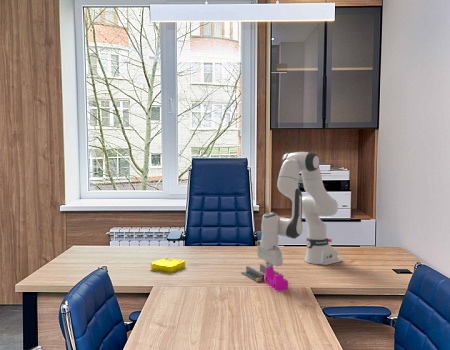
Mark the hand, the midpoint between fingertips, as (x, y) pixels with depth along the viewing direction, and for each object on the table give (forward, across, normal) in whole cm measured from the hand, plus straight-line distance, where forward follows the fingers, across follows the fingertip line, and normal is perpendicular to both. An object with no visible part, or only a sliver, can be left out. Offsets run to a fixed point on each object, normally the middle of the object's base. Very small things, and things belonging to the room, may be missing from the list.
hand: (269, 270), depth 244 cm
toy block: (+6, -9, +2) cm, 11 cm away
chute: (+5, +8, 0) cm, 9 cm away
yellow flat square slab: (+6, +43, +41) cm, 60 cm away
